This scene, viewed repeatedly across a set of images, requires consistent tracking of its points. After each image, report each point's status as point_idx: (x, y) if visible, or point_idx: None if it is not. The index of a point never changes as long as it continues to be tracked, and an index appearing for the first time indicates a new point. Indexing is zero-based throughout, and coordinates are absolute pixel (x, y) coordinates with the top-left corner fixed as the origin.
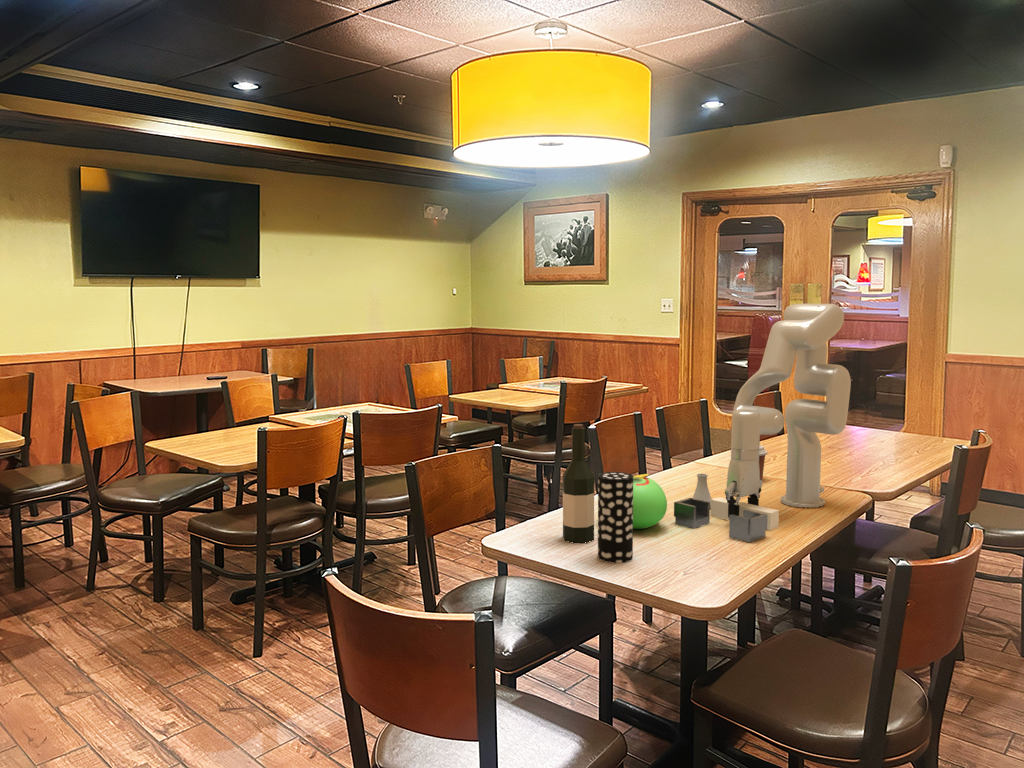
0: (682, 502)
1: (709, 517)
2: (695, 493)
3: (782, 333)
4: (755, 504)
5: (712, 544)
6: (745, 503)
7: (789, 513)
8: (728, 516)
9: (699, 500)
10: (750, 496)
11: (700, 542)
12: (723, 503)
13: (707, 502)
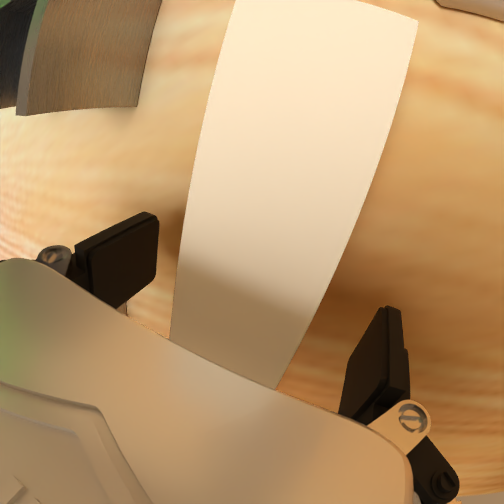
0: (12, 3)
1: (112, 106)
2: None
3: None
4: (346, 396)
5: (15, 223)
6: (282, 348)
7: (492, 421)
8: (144, 215)
9: (28, 40)
10: (371, 415)
11: (8, 191)
12: (204, 141)
13: (16, 111)
